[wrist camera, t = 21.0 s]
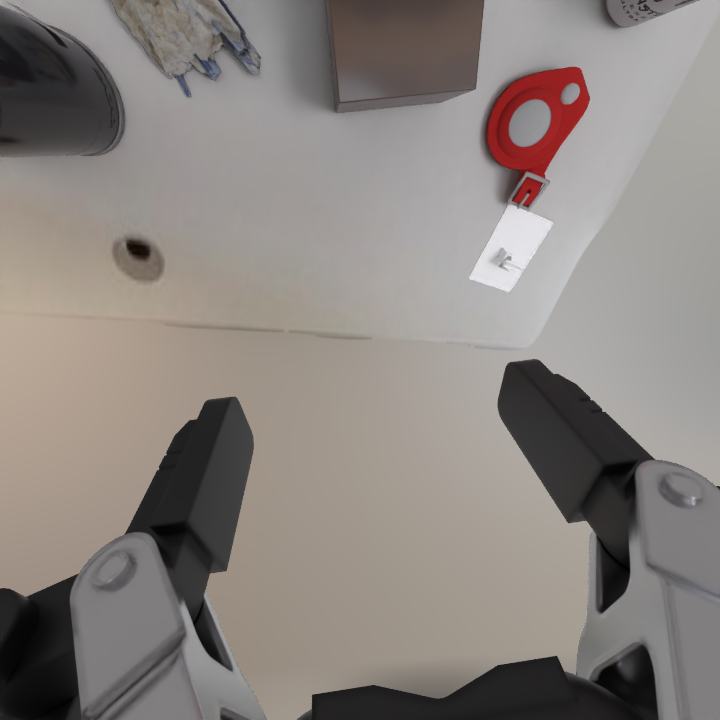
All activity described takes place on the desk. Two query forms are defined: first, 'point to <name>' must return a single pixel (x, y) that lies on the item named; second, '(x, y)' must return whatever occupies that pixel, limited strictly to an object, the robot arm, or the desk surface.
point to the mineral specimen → (187, 34)
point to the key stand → (402, 51)
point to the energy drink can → (641, 10)
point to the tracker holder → (535, 126)
